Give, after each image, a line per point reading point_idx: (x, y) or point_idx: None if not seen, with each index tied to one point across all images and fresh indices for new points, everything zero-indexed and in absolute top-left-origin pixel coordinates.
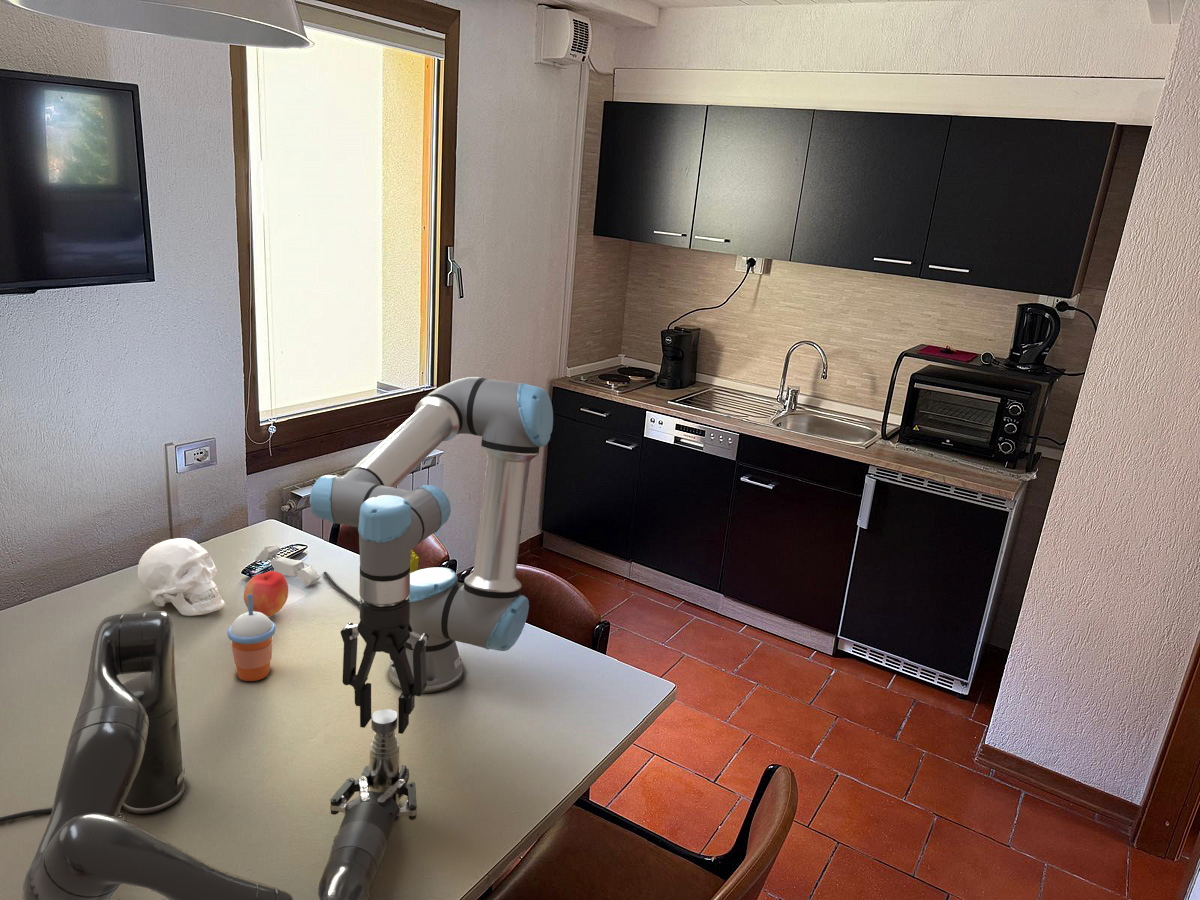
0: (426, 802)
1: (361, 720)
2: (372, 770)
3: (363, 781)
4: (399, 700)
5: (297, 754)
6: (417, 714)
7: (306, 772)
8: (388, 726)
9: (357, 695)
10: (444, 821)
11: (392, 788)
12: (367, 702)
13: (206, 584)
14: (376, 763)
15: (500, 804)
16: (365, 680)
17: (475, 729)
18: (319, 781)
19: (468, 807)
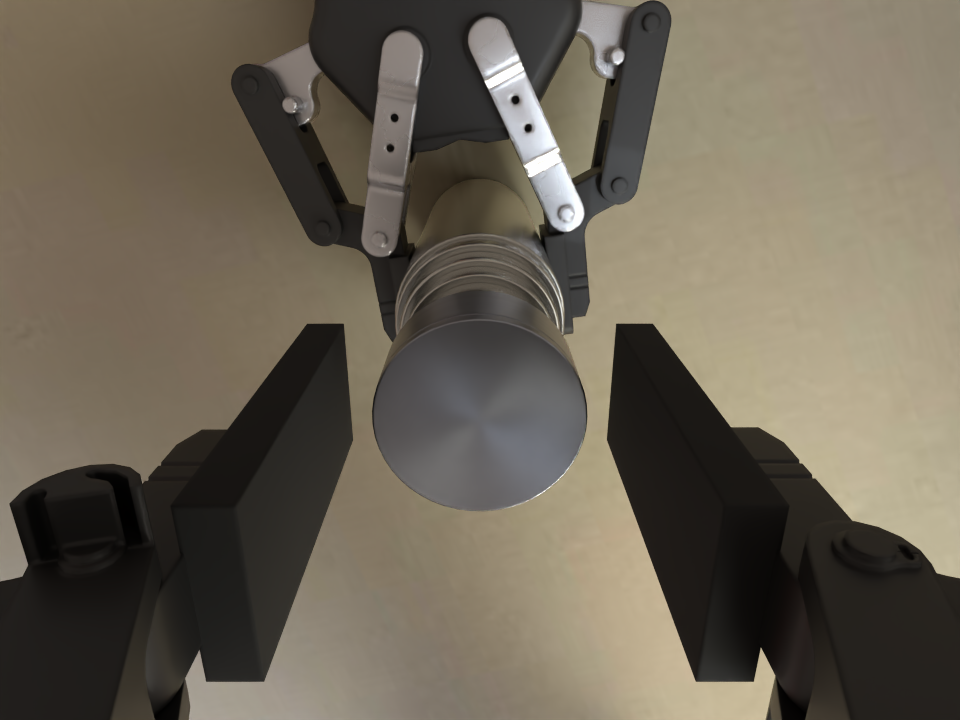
0: (349, 309)
1: (657, 346)
2: (520, 227)
3: (555, 192)
4: (232, 483)
5: (886, 432)
6: (545, 683)
7: (827, 355)
8: (413, 332)
9: (794, 496)
10: (246, 231)
11: (389, 161)
12: (658, 474)
13: None
14: (495, 227)
15: (97, 358)
16: (784, 698)
17: (336, 660)
18: (766, 323)
19: (196, 319)
